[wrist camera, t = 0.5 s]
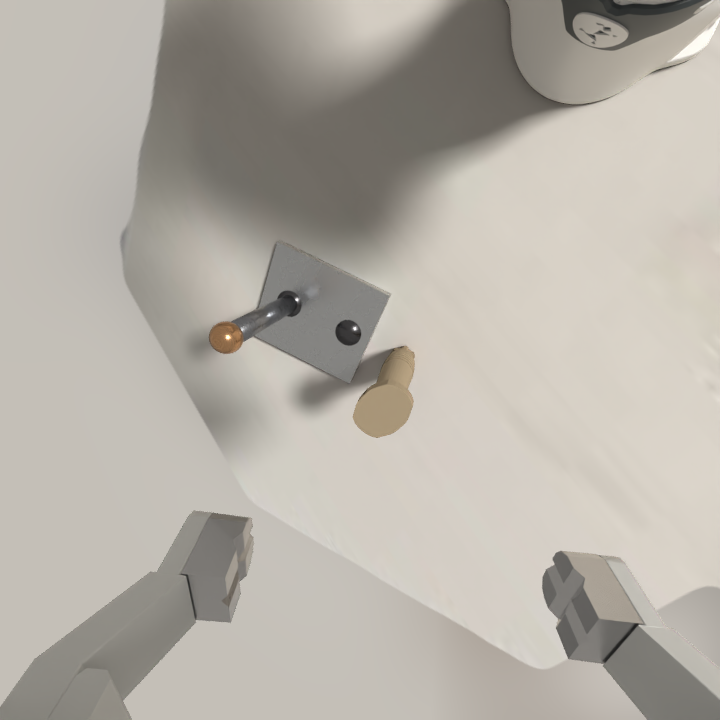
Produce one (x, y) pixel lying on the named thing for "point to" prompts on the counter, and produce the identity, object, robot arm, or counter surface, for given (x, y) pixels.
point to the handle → (387, 396)
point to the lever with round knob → (249, 325)
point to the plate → (321, 311)
